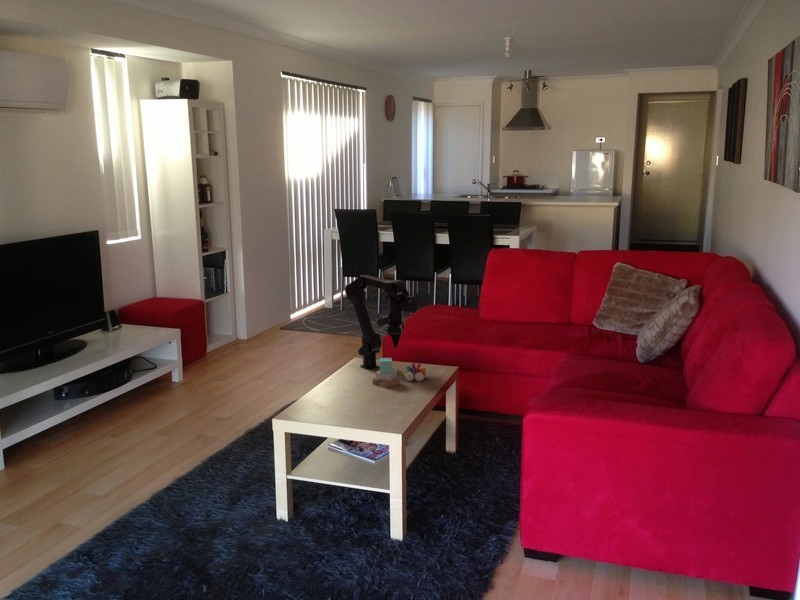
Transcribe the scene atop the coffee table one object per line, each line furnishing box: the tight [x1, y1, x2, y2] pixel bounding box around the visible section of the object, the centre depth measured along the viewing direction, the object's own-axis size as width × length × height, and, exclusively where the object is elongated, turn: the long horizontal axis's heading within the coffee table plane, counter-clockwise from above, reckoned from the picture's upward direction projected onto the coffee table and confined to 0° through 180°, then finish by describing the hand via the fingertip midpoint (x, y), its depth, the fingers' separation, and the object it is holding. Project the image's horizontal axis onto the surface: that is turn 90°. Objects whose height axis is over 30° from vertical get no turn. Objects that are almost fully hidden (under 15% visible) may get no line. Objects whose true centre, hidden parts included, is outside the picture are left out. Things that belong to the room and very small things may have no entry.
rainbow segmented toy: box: [403, 362, 427, 382], centre depth 299 cm, size 8×10×7 cm
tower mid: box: [375, 368, 398, 381], centre depth 294 cm, size 6×6×3 cm
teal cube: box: [379, 357, 393, 373], centre depth 293 cm, size 5×5×5 cm
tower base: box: [372, 376, 401, 389], centre depth 294 cm, size 8×8×3 cm
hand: (396, 344), depth 306 cm, fingers open, 9 cm apart
